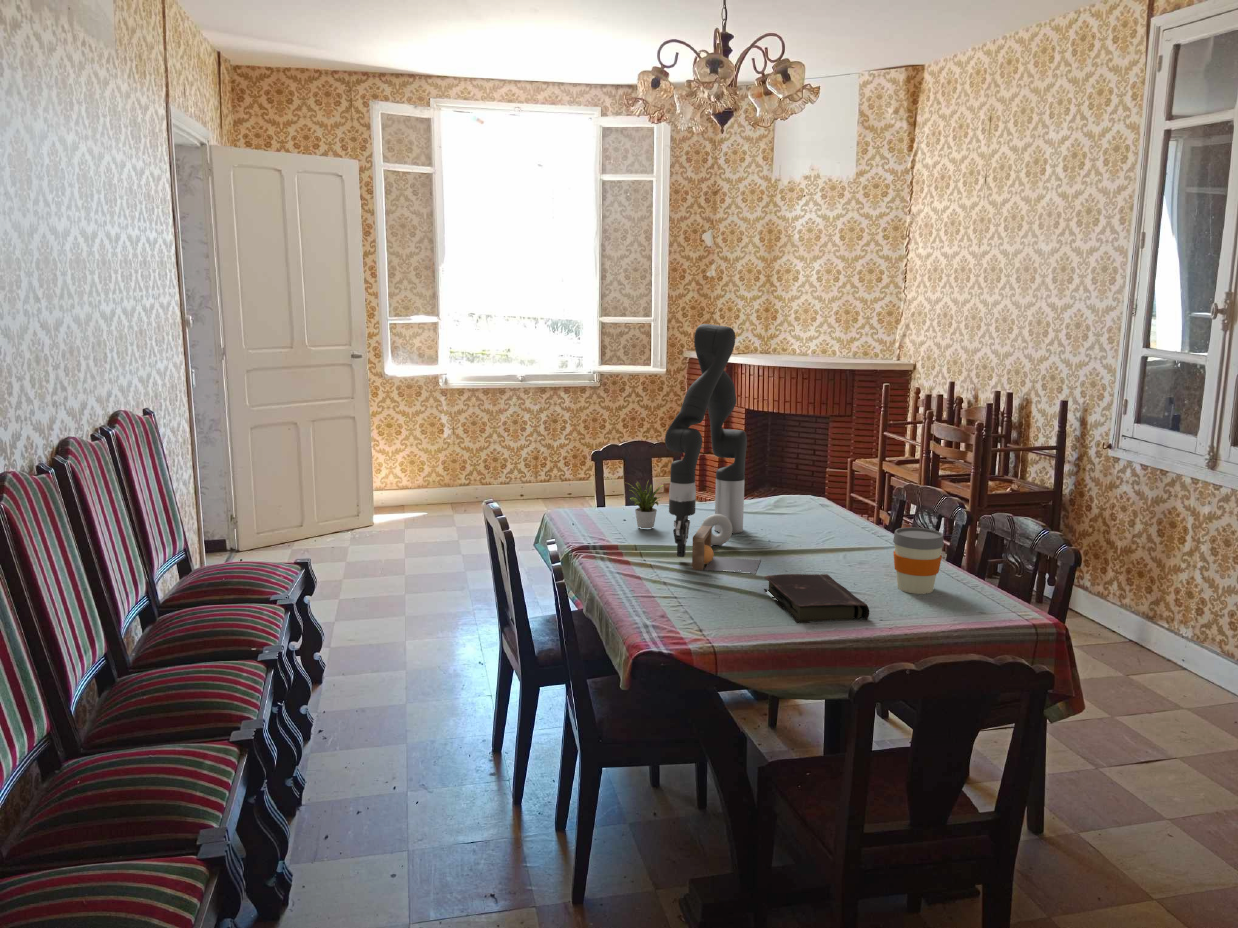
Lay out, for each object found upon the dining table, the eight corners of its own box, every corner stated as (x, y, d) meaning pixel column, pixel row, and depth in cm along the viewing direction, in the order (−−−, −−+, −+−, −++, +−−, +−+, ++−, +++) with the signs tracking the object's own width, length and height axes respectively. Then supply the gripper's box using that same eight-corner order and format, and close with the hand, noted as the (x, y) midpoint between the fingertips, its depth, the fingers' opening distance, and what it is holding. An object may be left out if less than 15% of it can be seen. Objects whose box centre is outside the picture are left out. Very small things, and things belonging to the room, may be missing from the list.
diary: (828, 591, 245) (830, 572, 244) (868, 623, 220) (870, 603, 219) (760, 592, 242) (761, 574, 241) (793, 625, 217) (794, 605, 216)
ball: (716, 544, 267) (715, 563, 267) (698, 541, 269) (697, 560, 269) (710, 547, 262) (709, 567, 262) (692, 545, 264) (690, 564, 264)
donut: (701, 547, 283) (702, 515, 281) (698, 544, 286) (699, 513, 285) (733, 546, 285) (734, 514, 283) (730, 543, 288) (731, 512, 286)
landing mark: (712, 557, 273) (712, 556, 273) (760, 560, 269) (760, 560, 269) (704, 570, 260) (704, 569, 260) (755, 574, 256) (755, 573, 256)
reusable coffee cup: (907, 597, 237) (911, 540, 234) (881, 583, 249) (884, 528, 246) (950, 593, 240) (954, 537, 238) (922, 579, 252) (926, 525, 250)
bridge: (691, 569, 260) (692, 537, 259) (700, 555, 274) (701, 525, 272) (702, 570, 259) (703, 538, 258) (710, 556, 273) (711, 526, 272)
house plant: (614, 531, 302) (615, 481, 299) (626, 521, 315) (627, 474, 312) (657, 534, 298) (658, 484, 295) (667, 525, 311) (668, 477, 308)
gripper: (674, 491, 272) (672, 549, 275) (664, 501, 260) (663, 561, 263) (699, 493, 270) (698, 551, 273) (691, 502, 258) (689, 563, 261)
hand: (681, 556), depth 268 cm, fingers closed
